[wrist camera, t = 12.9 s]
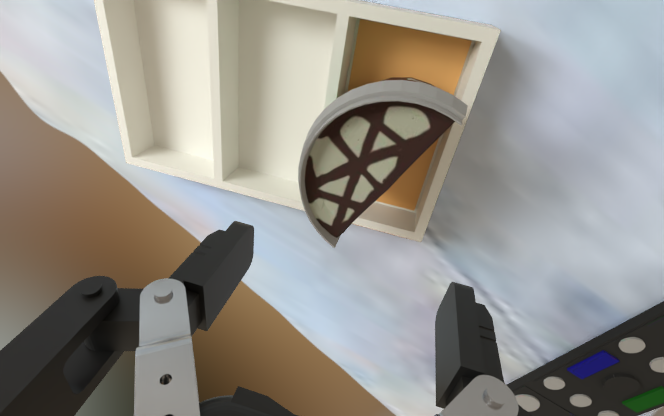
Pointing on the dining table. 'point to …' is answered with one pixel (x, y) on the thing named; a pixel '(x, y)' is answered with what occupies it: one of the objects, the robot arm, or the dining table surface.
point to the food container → (368, 147)
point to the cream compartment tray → (278, 88)
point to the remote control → (602, 374)
